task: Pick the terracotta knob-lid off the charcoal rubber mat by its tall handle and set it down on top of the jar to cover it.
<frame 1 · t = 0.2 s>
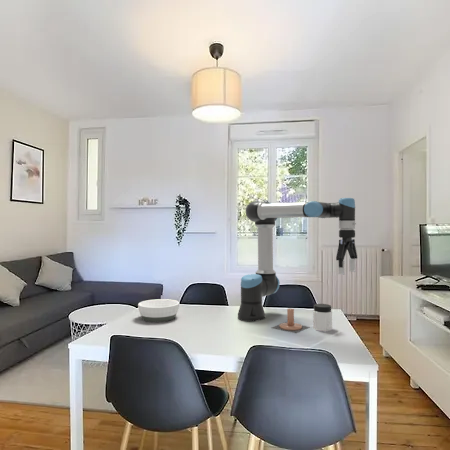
hand: (347, 272, 176), 28 cm above the table, fingers open, 13 cm apart
lid: (290, 327, 177), point 1 cm above the table, touching mat
bowl: (158, 318, 199), on the table
jar: (322, 330, 175), on the table
mat: (290, 328, 177), on the table
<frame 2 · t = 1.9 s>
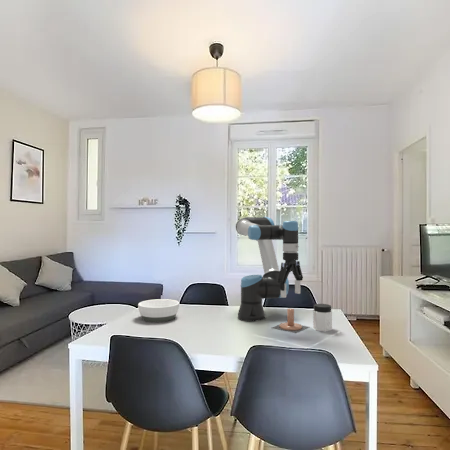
hand: (290, 295, 177), 16 cm above the table, fingers open, 13 cm apart
nothing on the table moved.
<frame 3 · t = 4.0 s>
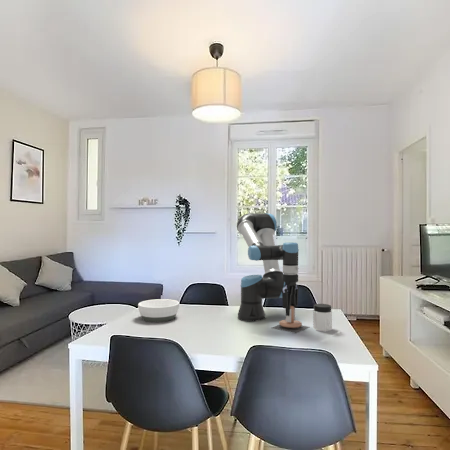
hand: (290, 321, 178), 4 cm above the table, fingers closed on lid, 3 cm apart
lid: (290, 324, 178), point 2 cm above the table, touching gripper
everything else where it was.
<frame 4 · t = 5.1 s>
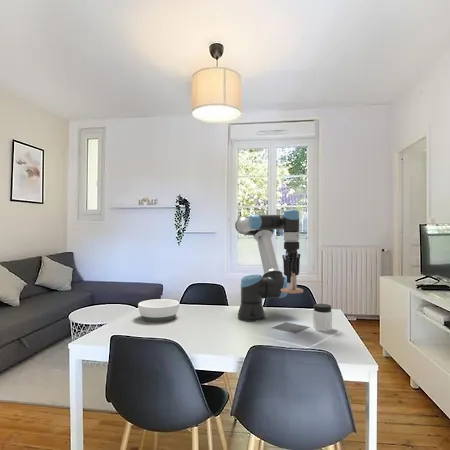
hand: (291, 288, 177), 20 cm above the table, fingers closed on lid, 3 cm apart
lid: (291, 291, 177), point 18 cm above the table, touching gripper
everything else where it was.
when the fingers open (16 cm above the table, at t = 6.8 s): lid drops 3 cm, resting on jar.
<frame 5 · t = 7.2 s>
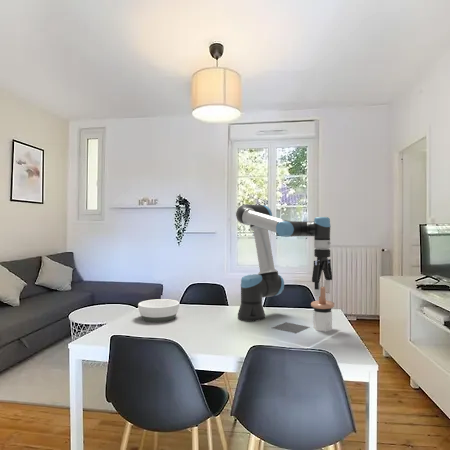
hand: (322, 294, 175), 17 cm above the table, fingers open, 10 cm apart
lid: (322, 305, 175), point 12 cm above the table, tilted 6°, touching jar
jar: (322, 330, 175), on the table, touching lid
everything else where it was.
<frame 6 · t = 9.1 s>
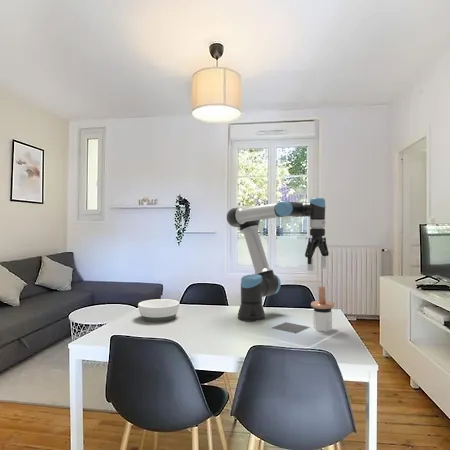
hand: (317, 269, 185), 28 cm above the table, fingers open, 13 cm apart
nothing on the table moved.
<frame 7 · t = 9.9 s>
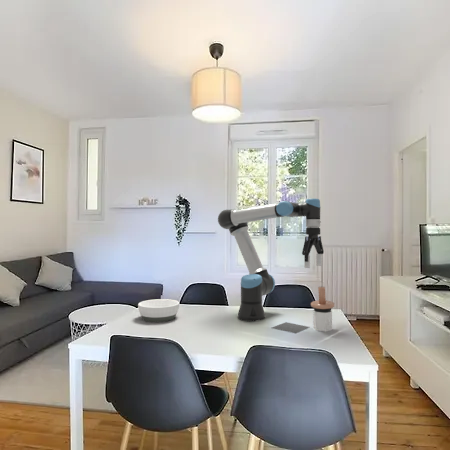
hand: (313, 266, 194), 29 cm above the table, fingers open, 13 cm apart
nothing on the table moved.
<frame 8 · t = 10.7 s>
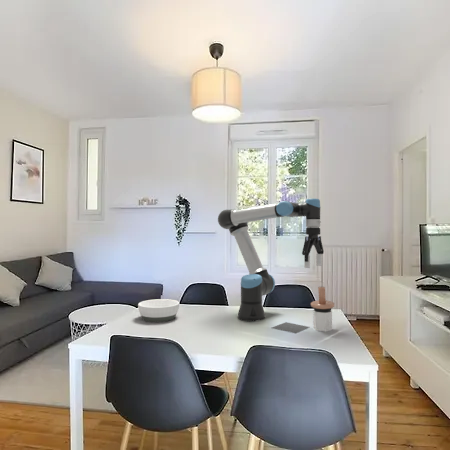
hand: (313, 266, 194), 29 cm above the table, fingers open, 13 cm apart
nothing on the table moved.
at the end: lid 0.0 cm off-centre on the jar, point 12.1 cm above the jar's base; lid tilted 6°; the gripper is holding nothing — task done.
